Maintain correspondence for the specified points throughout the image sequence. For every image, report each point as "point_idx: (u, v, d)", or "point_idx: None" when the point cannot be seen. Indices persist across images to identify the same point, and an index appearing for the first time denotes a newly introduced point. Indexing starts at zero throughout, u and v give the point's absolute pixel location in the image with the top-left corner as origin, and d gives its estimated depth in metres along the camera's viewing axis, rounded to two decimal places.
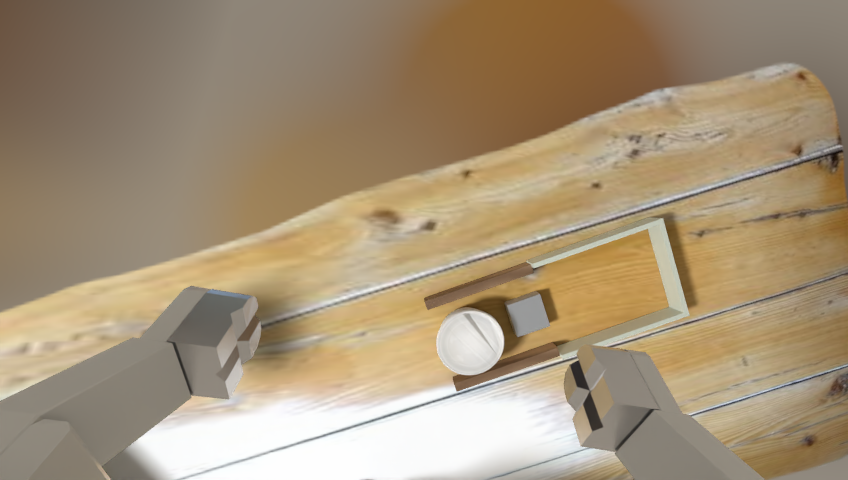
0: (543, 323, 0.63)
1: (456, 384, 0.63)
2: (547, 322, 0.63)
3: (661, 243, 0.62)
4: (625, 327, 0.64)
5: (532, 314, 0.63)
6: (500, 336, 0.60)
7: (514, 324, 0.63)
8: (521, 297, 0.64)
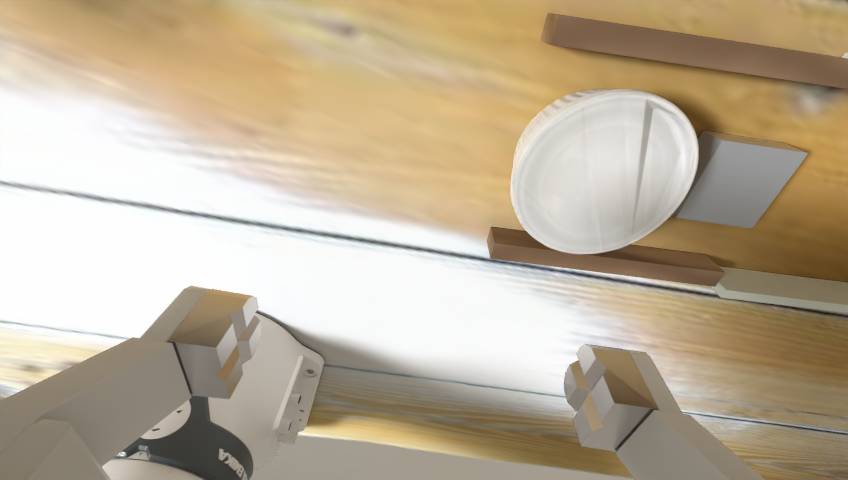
0: (746, 216, 0.27)
1: (498, 246, 0.29)
2: (754, 219, 0.27)
3: None
4: None
5: (748, 189, 0.26)
6: (672, 202, 0.24)
7: (695, 190, 0.26)
8: (752, 140, 0.25)
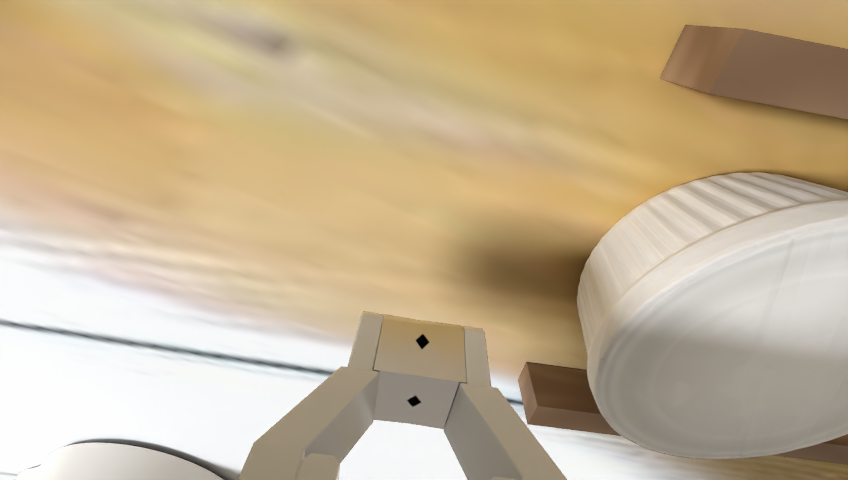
0: None
1: (542, 410, 0.17)
2: None
3: None
4: None
5: None
6: None
7: None
8: None
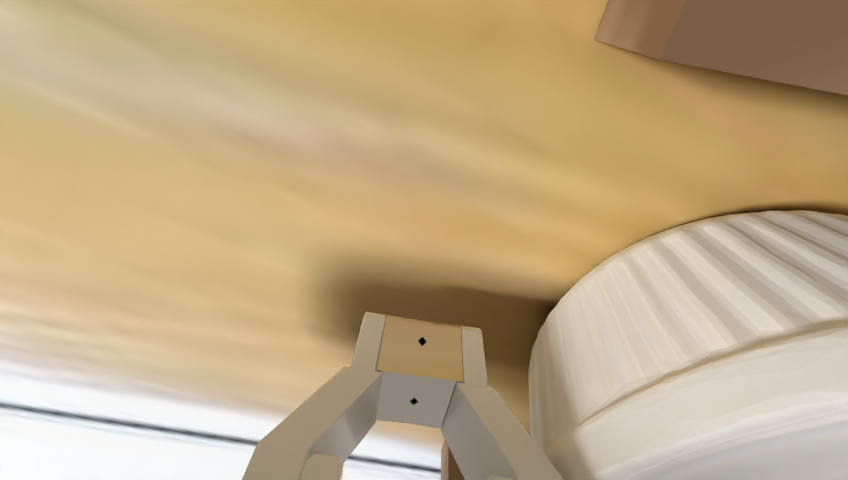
0: None
1: None
2: None
3: None
4: None
5: None
6: None
7: None
8: None
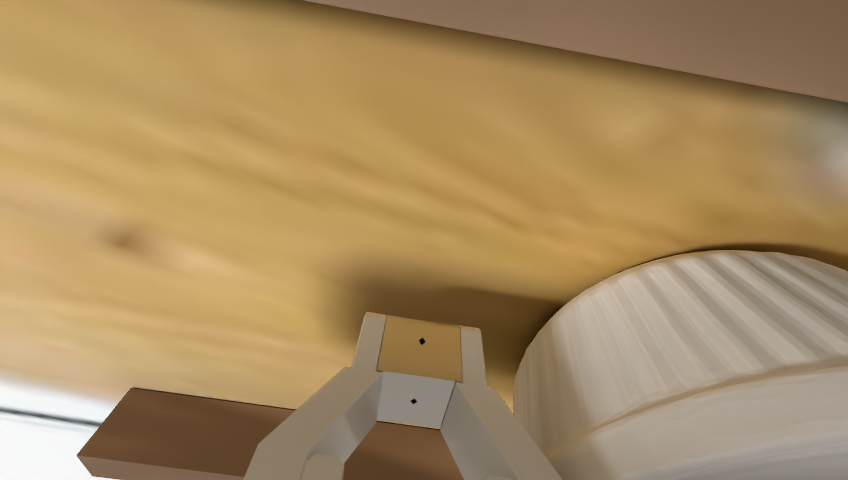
0: None
1: (89, 460, 0.12)
2: None
3: None
4: None
5: None
6: None
7: None
8: None
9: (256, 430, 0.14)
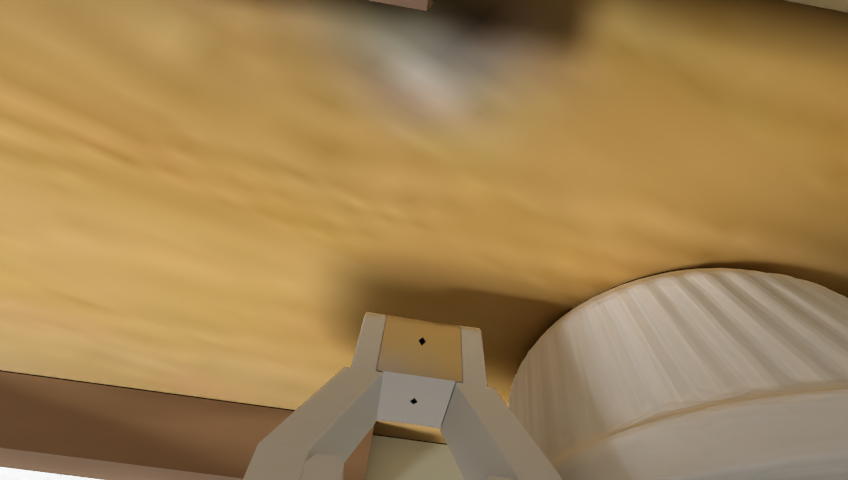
0: None
1: None
2: None
3: None
4: None
5: None
6: None
7: None
8: None
9: None
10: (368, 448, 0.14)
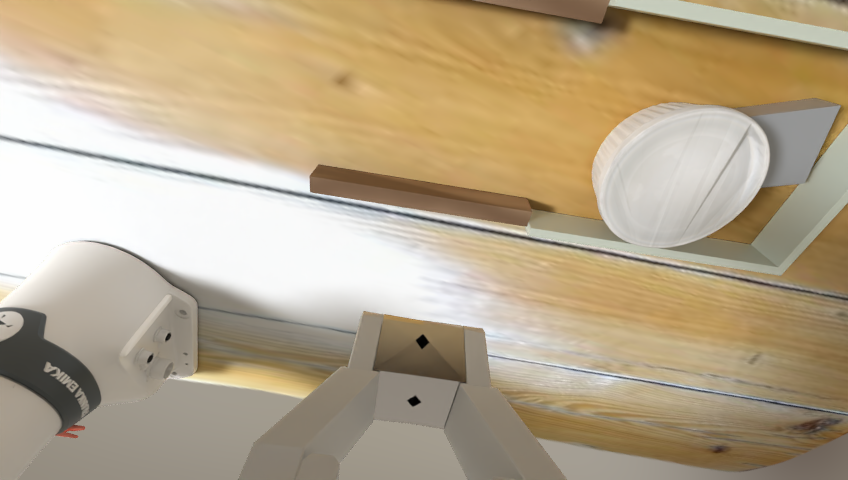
0: (794, 174, 0.28)
1: (313, 179, 0.31)
2: (804, 175, 0.28)
3: None
4: None
5: (787, 150, 0.27)
6: (723, 219, 0.28)
7: None
8: (779, 106, 0.27)
9: (375, 178, 0.32)
10: (528, 203, 0.32)
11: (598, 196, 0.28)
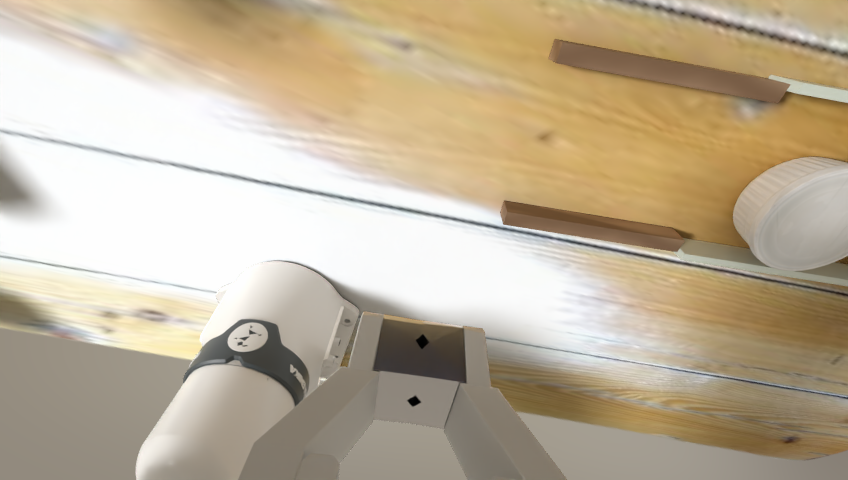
0: None
1: (509, 214, 0.37)
2: None
3: None
4: None
5: None
6: None
7: None
8: None
9: (553, 212, 0.39)
10: None
11: (753, 231, 0.35)
